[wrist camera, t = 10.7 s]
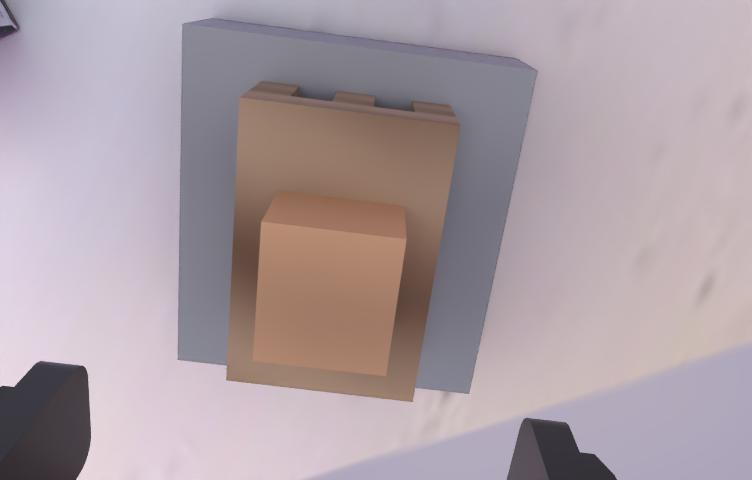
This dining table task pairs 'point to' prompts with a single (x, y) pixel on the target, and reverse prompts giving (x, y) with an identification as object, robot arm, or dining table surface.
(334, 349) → the block
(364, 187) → the pallet
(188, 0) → the dining table surface
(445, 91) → the dock
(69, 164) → the dining table surface
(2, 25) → the candy bar box
